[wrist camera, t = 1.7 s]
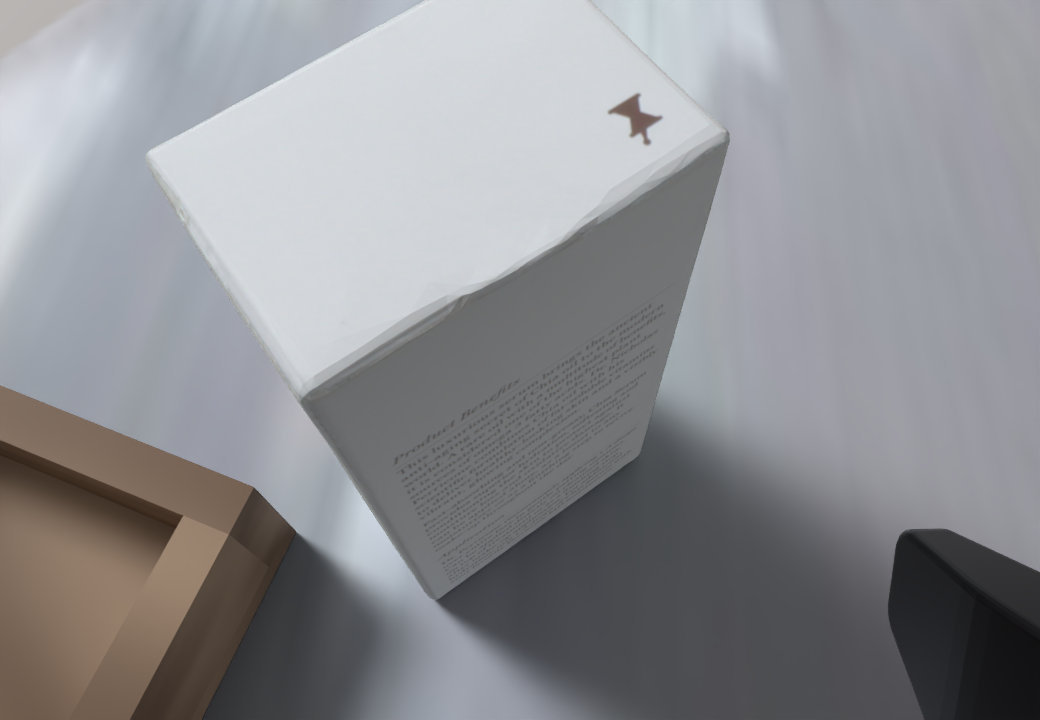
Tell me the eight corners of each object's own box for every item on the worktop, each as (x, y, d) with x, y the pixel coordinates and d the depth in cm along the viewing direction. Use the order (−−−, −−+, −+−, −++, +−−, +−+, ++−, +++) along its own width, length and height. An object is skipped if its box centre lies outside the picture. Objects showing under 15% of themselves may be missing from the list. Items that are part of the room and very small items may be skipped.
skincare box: (537, 327, 23) (539, -74, 12) (643, 458, 22) (752, 133, 11) (330, 462, 22) (126, 144, 11) (429, 611, 20) (306, 414, 9)
